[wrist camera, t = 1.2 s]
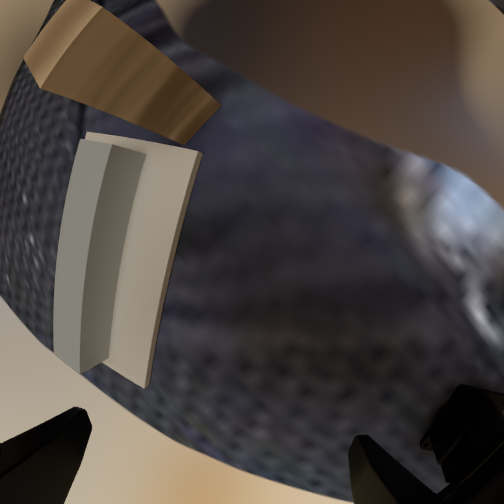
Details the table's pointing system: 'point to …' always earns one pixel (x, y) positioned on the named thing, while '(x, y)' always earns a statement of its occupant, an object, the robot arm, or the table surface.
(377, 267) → the table surface
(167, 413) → the table surface
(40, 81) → the oak post
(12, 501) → the robot arm
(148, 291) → the ridge stand
